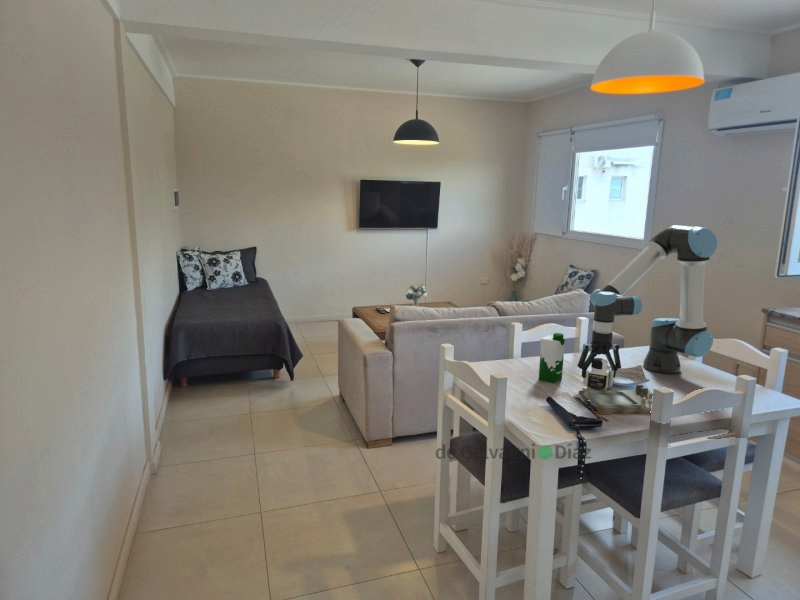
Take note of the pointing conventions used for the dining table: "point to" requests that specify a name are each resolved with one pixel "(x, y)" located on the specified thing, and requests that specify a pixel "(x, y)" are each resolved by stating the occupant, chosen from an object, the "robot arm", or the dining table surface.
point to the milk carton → (552, 358)
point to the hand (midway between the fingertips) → (597, 385)
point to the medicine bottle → (598, 375)
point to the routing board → (620, 400)
